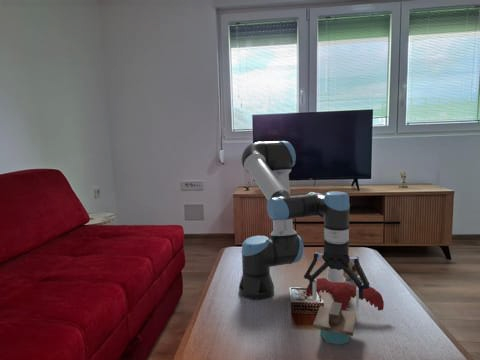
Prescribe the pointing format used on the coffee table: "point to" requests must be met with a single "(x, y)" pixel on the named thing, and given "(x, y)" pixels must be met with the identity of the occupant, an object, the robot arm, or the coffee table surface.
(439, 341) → the coffee table surface
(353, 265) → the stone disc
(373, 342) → the coffee table surface
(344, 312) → the walnut lid
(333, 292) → the decorative bird sculpture
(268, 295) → the robot arm
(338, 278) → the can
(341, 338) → the teal bowl
